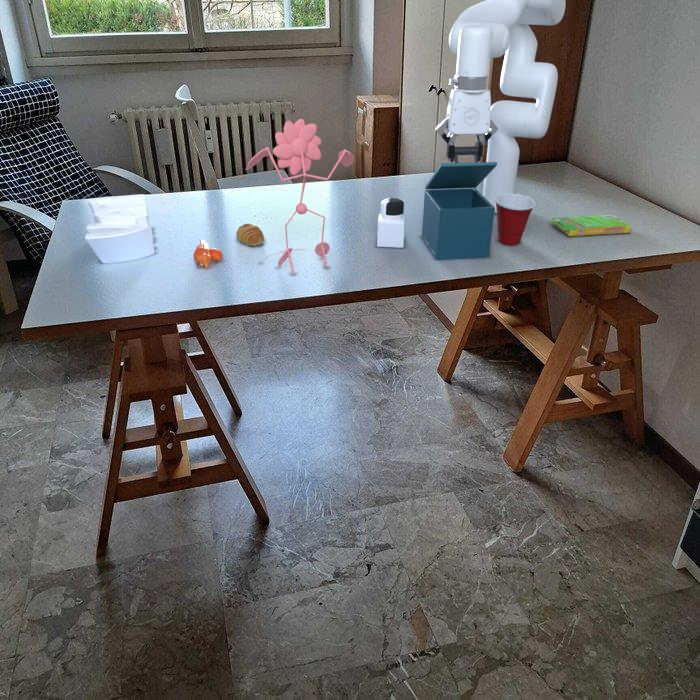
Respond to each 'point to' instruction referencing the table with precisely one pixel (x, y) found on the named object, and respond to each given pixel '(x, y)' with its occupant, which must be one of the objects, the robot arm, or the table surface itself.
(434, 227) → the cool box
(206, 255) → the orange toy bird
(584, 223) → the game box
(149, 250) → the wavy white extrusion
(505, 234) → the plastic cup
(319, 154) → the figurine
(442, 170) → the cool box lid
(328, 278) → the table surface
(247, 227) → the pastry
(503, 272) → the table surface
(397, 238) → the medicine bottle
